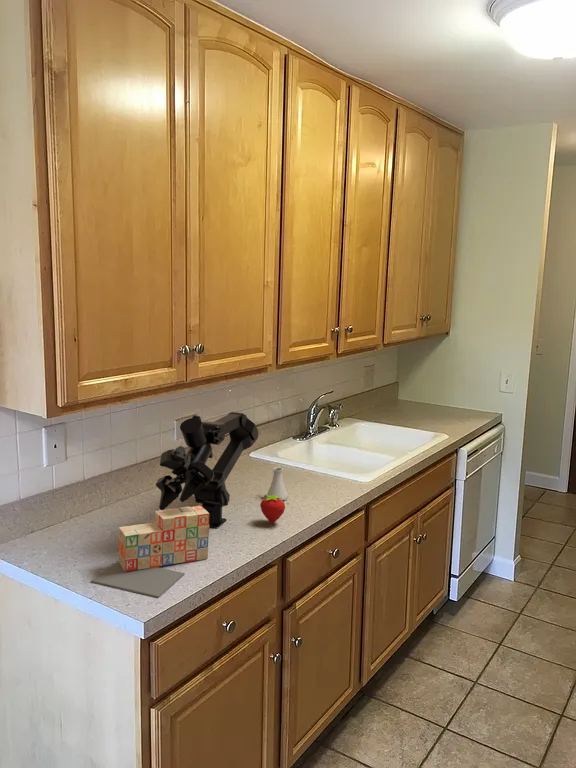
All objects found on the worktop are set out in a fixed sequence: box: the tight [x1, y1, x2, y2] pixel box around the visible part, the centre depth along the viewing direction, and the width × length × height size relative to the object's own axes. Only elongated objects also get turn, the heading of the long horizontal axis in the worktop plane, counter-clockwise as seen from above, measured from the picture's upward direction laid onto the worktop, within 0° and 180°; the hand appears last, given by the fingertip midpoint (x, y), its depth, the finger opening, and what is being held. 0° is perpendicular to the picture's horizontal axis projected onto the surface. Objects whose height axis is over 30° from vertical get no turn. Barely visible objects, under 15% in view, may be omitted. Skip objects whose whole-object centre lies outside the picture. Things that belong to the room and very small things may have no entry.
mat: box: [90, 560, 185, 599], centre depth 153 cm, size 12×18×1 cm, turn 70°
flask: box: [265, 466, 289, 502], centre depth 208 cm, size 7×7×10 cm
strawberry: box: [259, 492, 286, 524], centre depth 187 cm, size 6×8×10 cm
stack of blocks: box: [118, 505, 210, 572], centre depth 161 cm, size 21×6×12 cm, turn 118°
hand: (170, 505), depth 162 cm, fingers open, 9 cm apart
